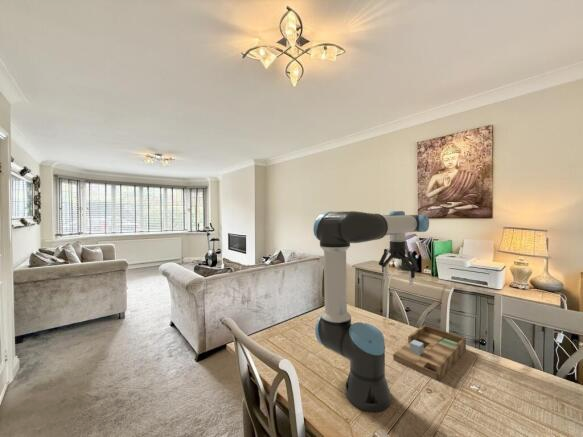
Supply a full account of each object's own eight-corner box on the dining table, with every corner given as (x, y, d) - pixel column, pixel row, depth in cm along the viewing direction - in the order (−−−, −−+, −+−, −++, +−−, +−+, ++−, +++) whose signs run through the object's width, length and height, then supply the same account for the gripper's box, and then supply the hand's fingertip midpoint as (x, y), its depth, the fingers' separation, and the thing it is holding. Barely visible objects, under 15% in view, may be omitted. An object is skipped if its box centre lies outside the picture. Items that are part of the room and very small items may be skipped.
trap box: (439, 381, 92) (439, 367, 91) (393, 360, 105) (393, 347, 105) (465, 349, 112) (465, 338, 112) (424, 335, 126) (424, 324, 126)
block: (419, 355, 104) (419, 346, 104) (410, 351, 107) (410, 342, 107) (423, 352, 106) (423, 343, 106) (414, 348, 109) (414, 339, 109)
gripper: (426, 241, 119) (426, 285, 120) (379, 238, 138) (379, 275, 139) (419, 243, 114) (419, 288, 115) (371, 239, 134) (372, 278, 134)
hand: (397, 281), depth 127 cm, fingers open, 13 cm apart
